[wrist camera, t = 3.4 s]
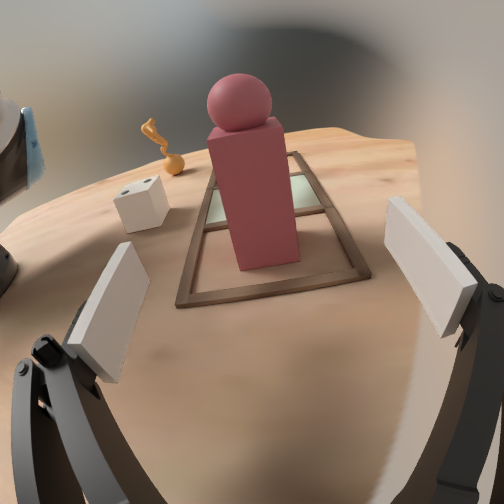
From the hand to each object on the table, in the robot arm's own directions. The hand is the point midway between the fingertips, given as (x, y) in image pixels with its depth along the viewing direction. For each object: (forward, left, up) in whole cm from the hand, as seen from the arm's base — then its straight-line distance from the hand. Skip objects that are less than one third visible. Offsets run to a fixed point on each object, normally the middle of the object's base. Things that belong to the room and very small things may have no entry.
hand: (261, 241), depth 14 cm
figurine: (-16, +38, -7) cm, 42 cm away
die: (-15, +20, -7) cm, 26 cm away
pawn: (0, +9, -7) cm, 12 cm away
